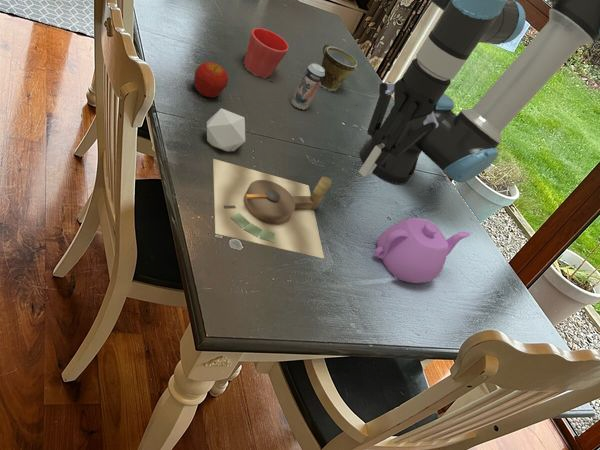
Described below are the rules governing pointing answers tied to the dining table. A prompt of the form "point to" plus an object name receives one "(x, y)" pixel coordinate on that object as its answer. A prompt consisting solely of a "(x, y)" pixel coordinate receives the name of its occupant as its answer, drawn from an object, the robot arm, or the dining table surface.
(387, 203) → the dining table surface
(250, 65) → the flower pot
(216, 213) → the board
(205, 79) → the apple
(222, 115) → the die
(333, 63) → the ceramic cup
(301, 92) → the beer can
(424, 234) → the teapot
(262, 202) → the dial
